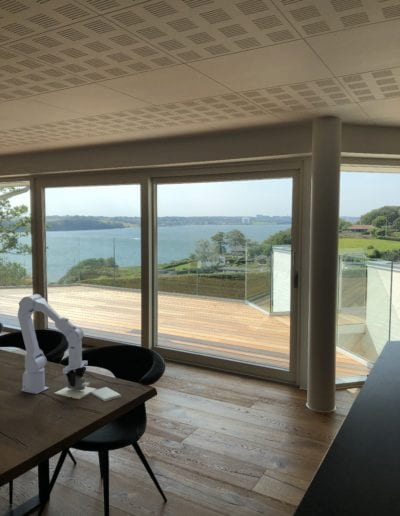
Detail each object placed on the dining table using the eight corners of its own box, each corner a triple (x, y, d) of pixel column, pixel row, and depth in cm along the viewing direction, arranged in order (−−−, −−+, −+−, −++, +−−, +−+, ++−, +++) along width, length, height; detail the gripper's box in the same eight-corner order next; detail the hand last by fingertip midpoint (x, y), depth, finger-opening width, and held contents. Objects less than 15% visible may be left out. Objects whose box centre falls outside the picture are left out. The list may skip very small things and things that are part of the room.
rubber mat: (54, 393, 193) (54, 392, 193) (73, 385, 204) (73, 384, 203) (78, 399, 187) (78, 397, 187) (96, 390, 198) (96, 388, 198)
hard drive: (90, 391, 193) (104, 398, 184) (106, 386, 199) (121, 393, 190) (90, 394, 194) (104, 402, 184) (106, 390, 199) (121, 397, 190)
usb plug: (65, 387, 195) (65, 377, 195) (71, 384, 199) (71, 374, 198) (84, 391, 190) (84, 380, 190) (90, 388, 194) (90, 377, 194)
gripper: (71, 360, 186) (71, 391, 187) (92, 352, 199) (93, 380, 200) (58, 358, 189) (59, 388, 190) (80, 350, 202) (81, 378, 203)
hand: (75, 384), depth 195 cm, fingers closed on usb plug, 4 cm apart
